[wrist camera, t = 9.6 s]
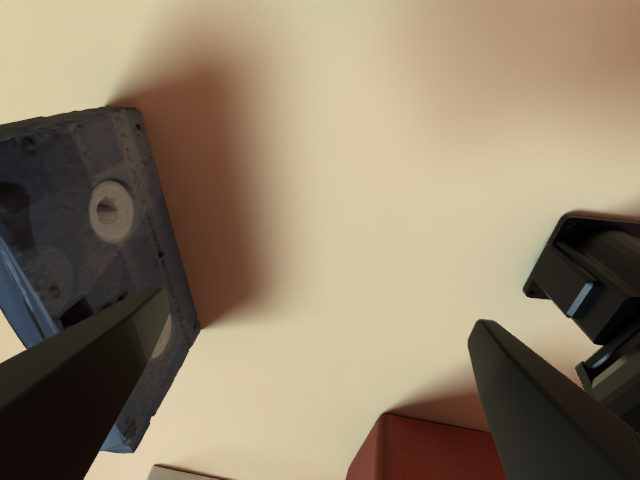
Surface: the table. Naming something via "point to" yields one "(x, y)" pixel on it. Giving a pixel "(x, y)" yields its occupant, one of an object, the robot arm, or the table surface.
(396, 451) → the plant pot
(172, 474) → the file sorter
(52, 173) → the vhs cassette tape
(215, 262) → the table surface
